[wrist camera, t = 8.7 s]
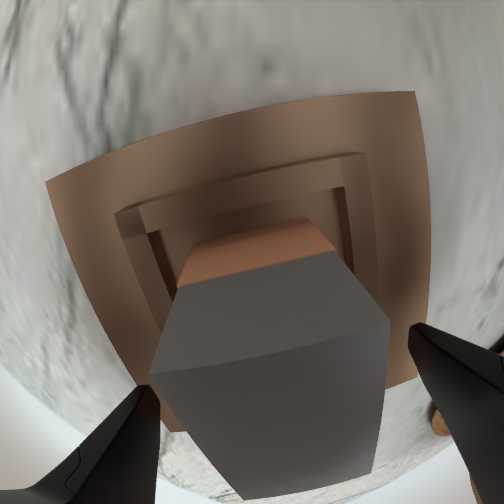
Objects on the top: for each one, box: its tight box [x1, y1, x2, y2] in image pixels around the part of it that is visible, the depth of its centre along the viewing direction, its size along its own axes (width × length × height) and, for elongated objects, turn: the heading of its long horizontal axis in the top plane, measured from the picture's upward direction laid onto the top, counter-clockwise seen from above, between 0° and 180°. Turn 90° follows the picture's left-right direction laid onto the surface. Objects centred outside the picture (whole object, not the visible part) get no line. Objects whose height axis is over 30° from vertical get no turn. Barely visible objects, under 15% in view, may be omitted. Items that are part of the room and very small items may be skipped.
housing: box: [149, 217, 390, 500], centre depth 9 cm, size 7×4×7 cm, turn 13°
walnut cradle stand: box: [45, 91, 431, 432], centre depth 13 cm, size 16×16×4 cm
